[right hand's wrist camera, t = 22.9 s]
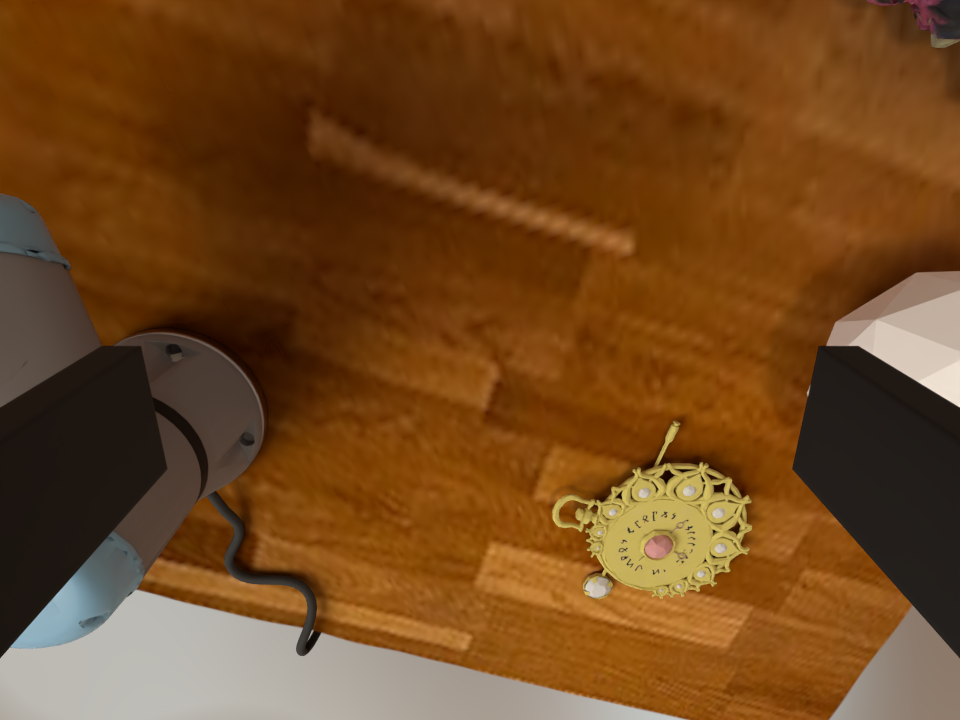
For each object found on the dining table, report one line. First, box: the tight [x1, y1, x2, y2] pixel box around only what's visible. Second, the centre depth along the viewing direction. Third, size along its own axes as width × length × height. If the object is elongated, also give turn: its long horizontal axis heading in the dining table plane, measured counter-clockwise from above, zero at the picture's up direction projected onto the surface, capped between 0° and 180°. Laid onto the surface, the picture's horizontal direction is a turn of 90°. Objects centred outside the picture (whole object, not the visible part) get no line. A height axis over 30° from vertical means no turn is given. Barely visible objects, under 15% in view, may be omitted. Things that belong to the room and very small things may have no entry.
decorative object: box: [552, 421, 752, 599], centre depth 58 cm, size 21×2×20 cm
